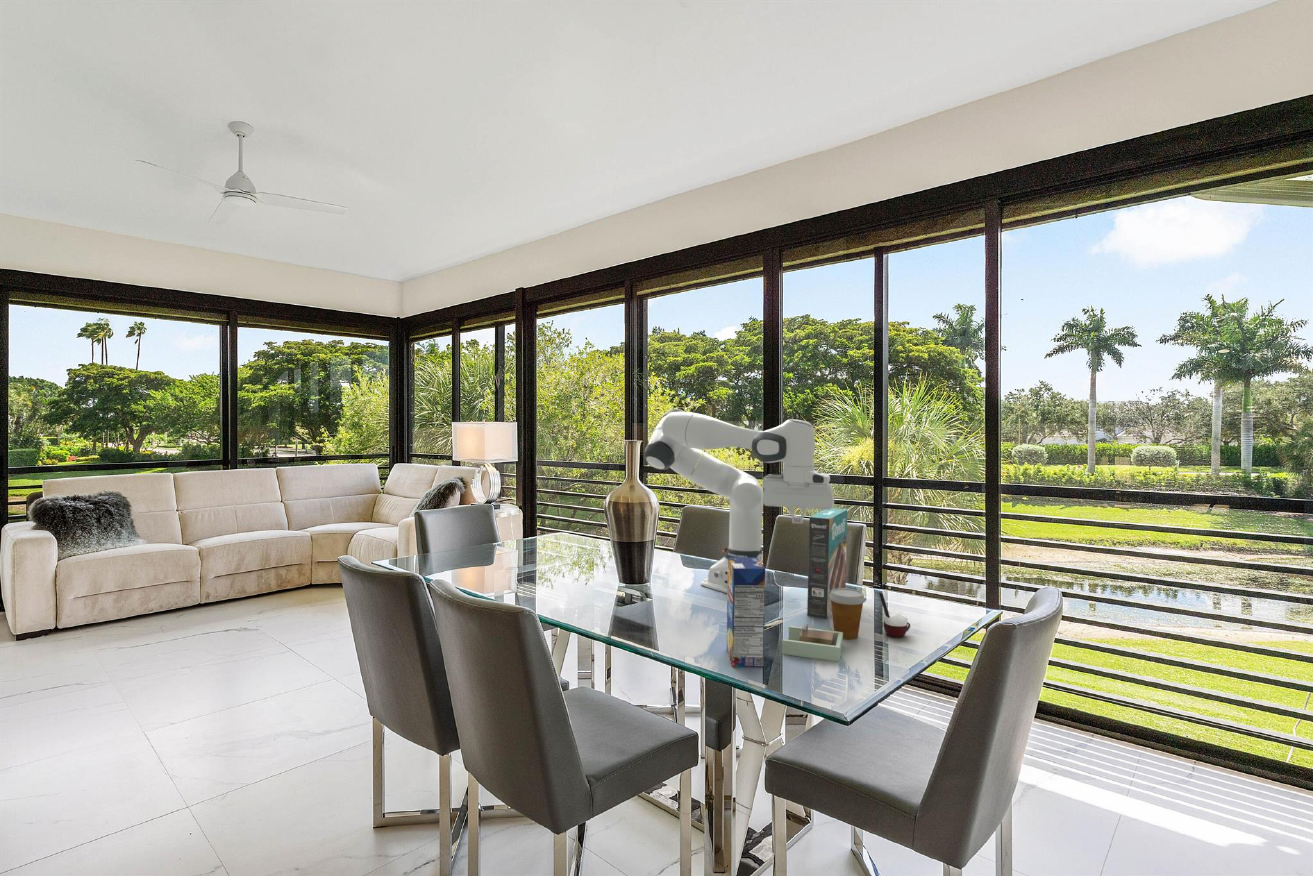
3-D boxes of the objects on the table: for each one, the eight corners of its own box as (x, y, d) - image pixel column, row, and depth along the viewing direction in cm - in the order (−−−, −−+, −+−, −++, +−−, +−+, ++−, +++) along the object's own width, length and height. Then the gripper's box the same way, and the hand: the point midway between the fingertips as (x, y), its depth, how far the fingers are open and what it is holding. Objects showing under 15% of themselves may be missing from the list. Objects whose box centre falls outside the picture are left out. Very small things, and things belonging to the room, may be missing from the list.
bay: (782, 653, 166) (782, 640, 166) (789, 638, 177) (789, 625, 177) (839, 661, 161) (839, 647, 161) (842, 645, 172) (842, 632, 172)
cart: (798, 653, 166) (799, 630, 166) (802, 643, 173) (803, 621, 173) (831, 657, 164) (831, 634, 163) (833, 647, 171) (834, 625, 170)
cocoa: (908, 634, 183) (911, 591, 183) (913, 641, 177) (916, 597, 176) (873, 630, 184) (876, 588, 184) (877, 637, 178) (880, 593, 178)
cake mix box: (827, 619, 194) (829, 518, 193) (807, 615, 197) (809, 516, 196) (845, 600, 213) (847, 509, 212) (826, 597, 216) (829, 507, 215)
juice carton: (726, 649, 168) (728, 557, 167) (755, 649, 168) (757, 557, 167) (732, 667, 156) (734, 568, 155) (763, 668, 156) (765, 568, 155)
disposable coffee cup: (821, 632, 182) (822, 589, 182) (848, 627, 186) (849, 586, 186) (843, 643, 174) (844, 598, 173) (871, 638, 177) (872, 595, 177)
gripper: (760, 474, 190) (759, 522, 190) (833, 478, 183) (832, 527, 183) (764, 473, 195) (763, 518, 196) (835, 476, 189) (834, 523, 189)
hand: (797, 523), depth 190 cm, fingers closed
